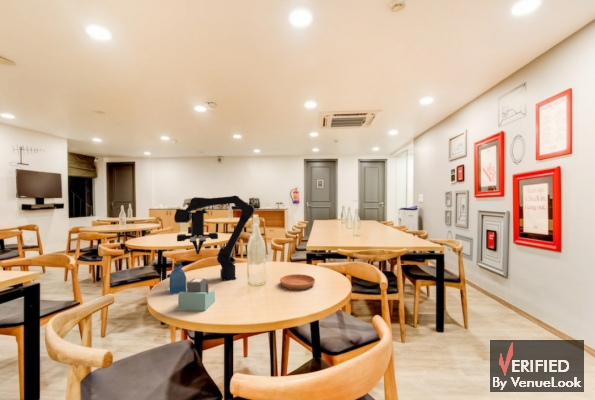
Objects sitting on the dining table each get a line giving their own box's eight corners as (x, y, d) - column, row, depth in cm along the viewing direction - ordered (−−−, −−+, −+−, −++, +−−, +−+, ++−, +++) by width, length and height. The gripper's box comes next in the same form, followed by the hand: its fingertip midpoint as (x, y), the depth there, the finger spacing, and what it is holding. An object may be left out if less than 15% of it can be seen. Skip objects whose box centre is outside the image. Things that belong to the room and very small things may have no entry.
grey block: (193, 301, 98) (193, 277, 99) (208, 302, 98) (208, 277, 98) (186, 307, 93) (185, 282, 93) (201, 308, 92) (201, 282, 92)
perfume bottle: (169, 294, 107) (169, 265, 107) (169, 290, 113) (169, 262, 113) (186, 292, 110) (186, 263, 110) (185, 287, 115) (184, 260, 115)
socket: (190, 300, 100) (190, 285, 100) (214, 301, 99) (214, 285, 99) (178, 310, 91) (178, 293, 91) (205, 310, 91) (205, 293, 91)
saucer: (321, 288, 114) (321, 281, 114) (287, 293, 108) (286, 286, 108) (306, 278, 129) (306, 272, 129) (275, 282, 123) (275, 276, 123)
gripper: (215, 220, 139) (215, 249, 139) (177, 222, 131) (177, 252, 131) (218, 222, 129) (218, 253, 129) (176, 223, 121) (176, 257, 121)
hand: (197, 254), depth 128 cm, fingers closed
